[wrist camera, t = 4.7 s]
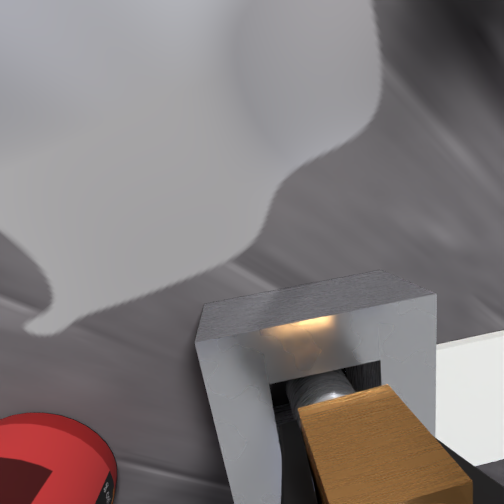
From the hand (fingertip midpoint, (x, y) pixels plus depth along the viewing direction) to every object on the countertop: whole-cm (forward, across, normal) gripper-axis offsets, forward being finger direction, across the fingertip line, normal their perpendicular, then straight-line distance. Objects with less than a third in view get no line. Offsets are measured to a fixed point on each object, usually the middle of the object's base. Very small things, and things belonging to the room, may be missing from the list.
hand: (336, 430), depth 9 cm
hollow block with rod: (+4, 0, +2) cm, 4 cm away
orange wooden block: (+2, 0, 0) cm, 2 cm away
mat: (+4, -8, +5) cm, 10 cm away
